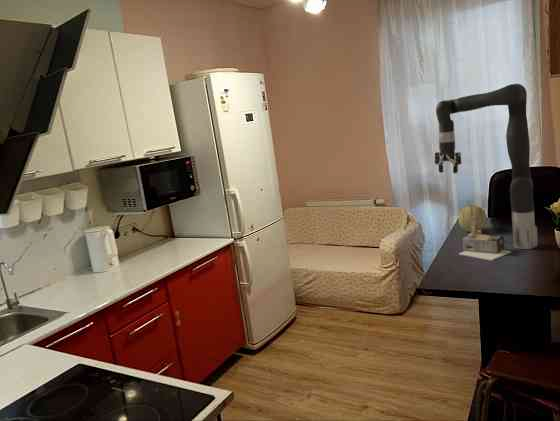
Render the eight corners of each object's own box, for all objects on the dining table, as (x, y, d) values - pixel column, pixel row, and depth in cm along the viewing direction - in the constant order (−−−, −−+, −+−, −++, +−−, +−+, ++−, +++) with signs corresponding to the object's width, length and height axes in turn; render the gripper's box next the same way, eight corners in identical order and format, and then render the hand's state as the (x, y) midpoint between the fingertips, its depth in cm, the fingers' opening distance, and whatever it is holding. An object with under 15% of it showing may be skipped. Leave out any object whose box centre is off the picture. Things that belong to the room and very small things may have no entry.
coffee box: (469, 233, 225) (504, 235, 214) (470, 245, 226) (504, 248, 215) (462, 238, 218) (498, 240, 208) (463, 251, 219) (498, 253, 209)
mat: (511, 252, 210) (511, 251, 210) (491, 260, 202) (491, 259, 202) (478, 246, 224) (478, 245, 224) (458, 254, 217) (458, 253, 217)
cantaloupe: (470, 236, 243) (468, 209, 240) (453, 231, 257) (451, 205, 254) (494, 231, 246) (492, 204, 244) (475, 226, 260) (474, 201, 258)
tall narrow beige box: (482, 239, 235) (480, 215, 233) (472, 243, 231) (470, 218, 229) (478, 239, 237) (476, 215, 234) (468, 243, 233) (467, 218, 230)
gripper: (463, 139, 225) (464, 172, 229) (440, 140, 237) (441, 171, 241) (454, 141, 222) (455, 174, 225) (430, 142, 234) (431, 173, 237)
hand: (448, 172), depth 233 cm, fingers open, 8 cm apart
